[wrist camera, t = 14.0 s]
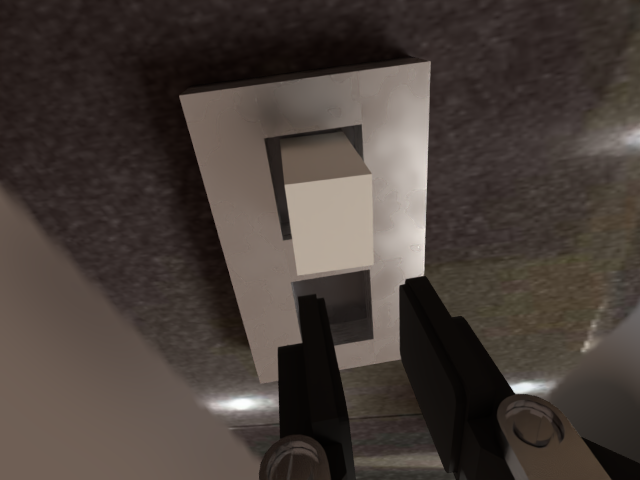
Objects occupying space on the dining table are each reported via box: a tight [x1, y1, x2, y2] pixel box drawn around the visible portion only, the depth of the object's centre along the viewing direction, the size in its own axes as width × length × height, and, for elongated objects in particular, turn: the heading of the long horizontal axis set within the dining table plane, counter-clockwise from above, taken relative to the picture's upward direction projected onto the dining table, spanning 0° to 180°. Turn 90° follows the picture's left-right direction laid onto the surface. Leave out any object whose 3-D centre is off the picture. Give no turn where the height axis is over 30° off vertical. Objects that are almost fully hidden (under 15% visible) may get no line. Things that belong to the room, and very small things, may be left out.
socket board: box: [179, 56, 431, 384], centre depth 24 cm, size 20×12×3 cm, turn 6°
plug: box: [280, 132, 374, 276], centre depth 20 cm, size 4×4×7 cm
